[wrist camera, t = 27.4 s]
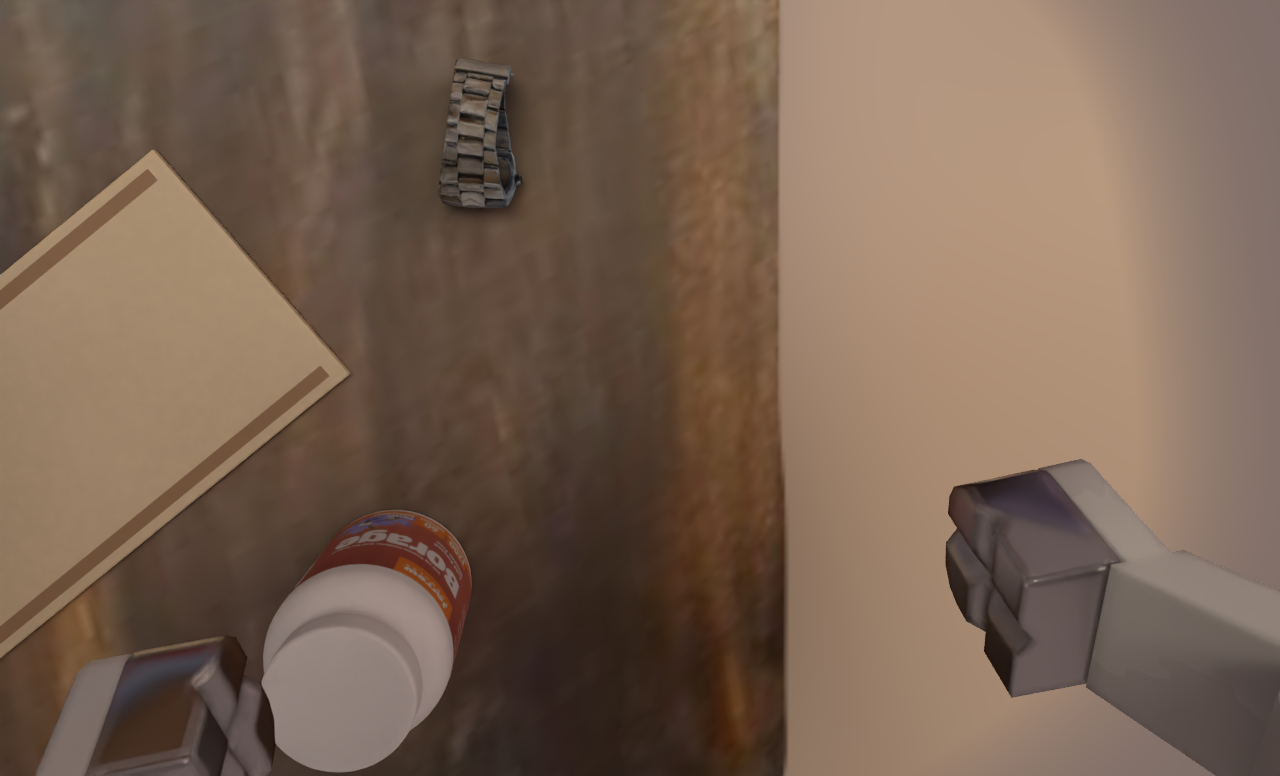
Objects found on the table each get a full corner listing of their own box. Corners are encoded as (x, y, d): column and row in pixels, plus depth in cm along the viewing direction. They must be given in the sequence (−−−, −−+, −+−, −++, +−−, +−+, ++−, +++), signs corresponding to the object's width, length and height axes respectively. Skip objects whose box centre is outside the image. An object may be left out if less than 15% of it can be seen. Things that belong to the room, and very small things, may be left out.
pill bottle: (494, 535, 40) (473, 641, 30) (443, 669, 41) (404, 822, 30) (349, 484, 40) (271, 574, 29) (298, 621, 40) (204, 762, 29)
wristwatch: (446, 134, 39) (434, 217, 36) (461, 19, 36) (449, 101, 32) (522, 148, 40) (516, 231, 37) (545, 37, 36) (540, 118, 33)
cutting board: (-33, 685, 40) (-40, 690, 39) (-245, 480, 38) (-254, 483, 37) (351, 372, 39) (349, 374, 39) (156, 150, 37) (152, 149, 37)
